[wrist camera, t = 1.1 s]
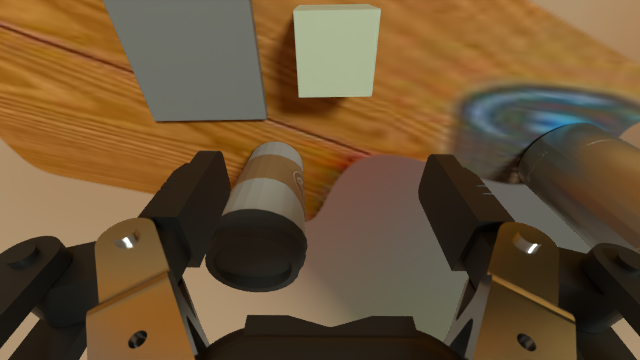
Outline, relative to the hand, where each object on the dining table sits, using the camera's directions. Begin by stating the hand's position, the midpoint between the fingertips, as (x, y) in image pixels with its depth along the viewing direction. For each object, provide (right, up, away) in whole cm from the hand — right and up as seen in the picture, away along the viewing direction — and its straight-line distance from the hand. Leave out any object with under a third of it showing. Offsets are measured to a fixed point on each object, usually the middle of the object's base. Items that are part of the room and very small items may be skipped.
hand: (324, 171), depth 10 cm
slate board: (-12, +11, +15) cm, 22 cm away
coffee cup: (-6, +2, +22) cm, 23 cm away
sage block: (+1, +13, +14) cm, 19 cm away
